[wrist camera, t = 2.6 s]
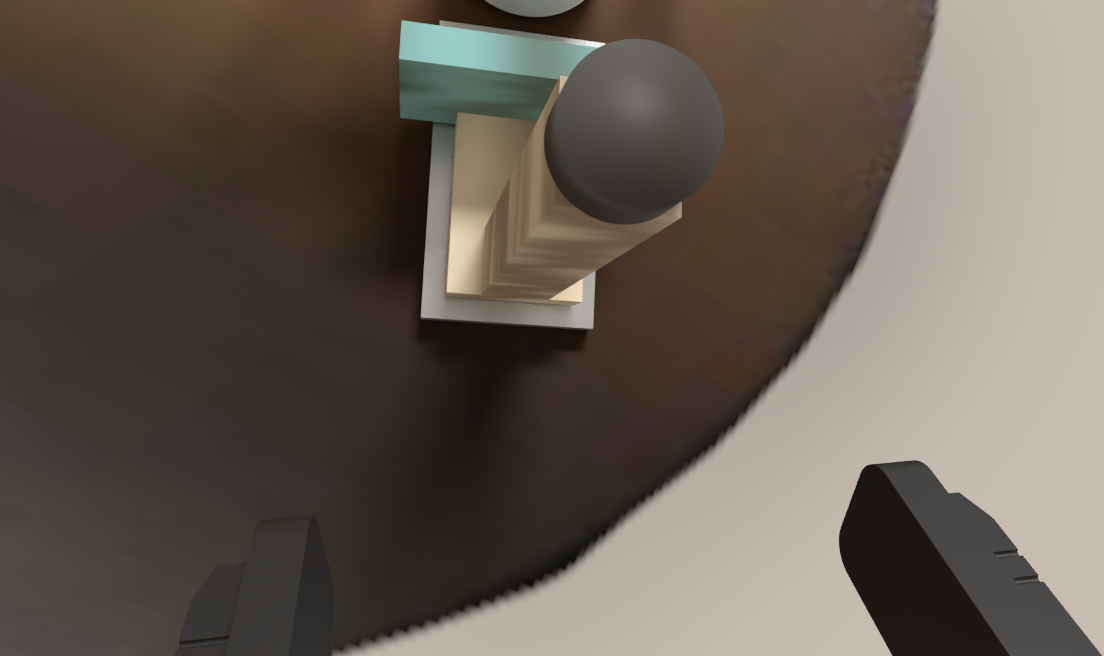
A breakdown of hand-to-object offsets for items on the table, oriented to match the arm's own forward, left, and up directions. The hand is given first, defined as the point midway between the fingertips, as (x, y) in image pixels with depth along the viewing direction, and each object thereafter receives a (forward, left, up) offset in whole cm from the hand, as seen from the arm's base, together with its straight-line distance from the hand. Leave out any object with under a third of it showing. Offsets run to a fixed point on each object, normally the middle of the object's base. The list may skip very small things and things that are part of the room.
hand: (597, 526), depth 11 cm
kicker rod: (+2, +11, -23) cm, 25 cm away
